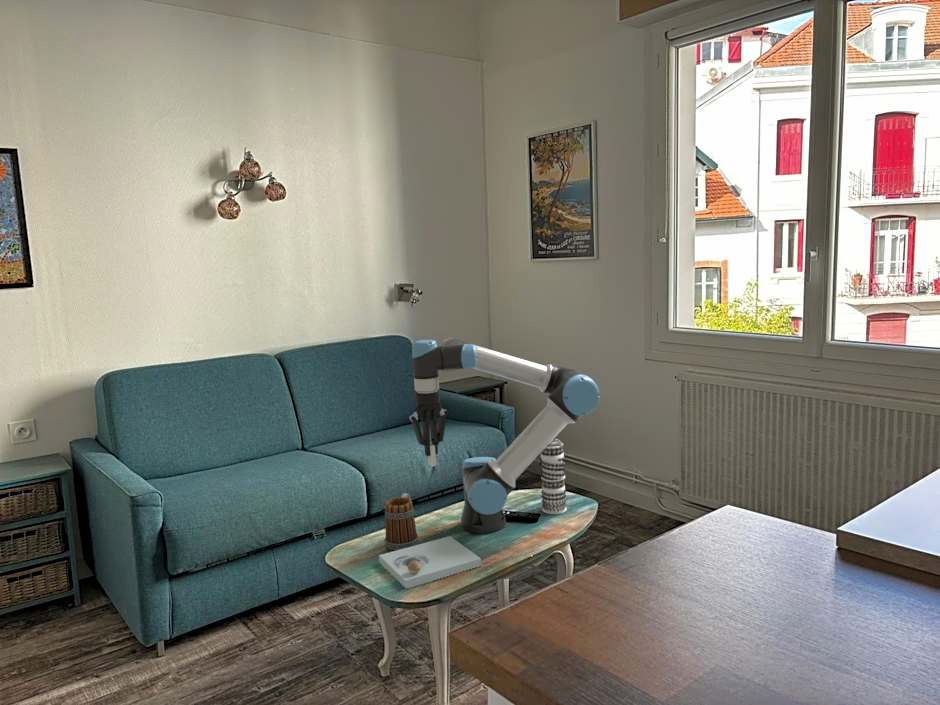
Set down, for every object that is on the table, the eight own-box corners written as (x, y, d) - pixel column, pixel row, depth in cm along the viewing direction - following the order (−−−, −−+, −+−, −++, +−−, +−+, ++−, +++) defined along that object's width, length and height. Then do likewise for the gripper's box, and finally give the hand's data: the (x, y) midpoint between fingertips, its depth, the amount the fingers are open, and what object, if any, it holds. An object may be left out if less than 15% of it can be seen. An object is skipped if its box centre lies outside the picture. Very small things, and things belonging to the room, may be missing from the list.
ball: (413, 569, 214) (418, 557, 215) (418, 573, 211) (423, 561, 212) (403, 565, 213) (408, 554, 213) (407, 569, 210) (413, 558, 210)
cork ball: (417, 568, 207) (416, 557, 207) (422, 573, 204) (422, 561, 203) (406, 572, 205) (405, 560, 205) (411, 577, 202) (410, 564, 202)
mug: (413, 554, 223) (410, 507, 221) (380, 553, 225) (377, 507, 223) (426, 534, 238) (423, 490, 236) (395, 533, 240) (392, 489, 238)
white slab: (450, 543, 229) (449, 536, 229) (481, 566, 212) (480, 558, 212) (379, 563, 218) (378, 555, 218) (406, 588, 201) (405, 580, 200)
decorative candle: (561, 503, 258) (558, 435, 255) (571, 512, 250) (569, 442, 246) (537, 507, 256) (534, 438, 252) (547, 516, 247) (544, 445, 243)
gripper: (440, 385, 227) (445, 458, 231) (402, 392, 221) (408, 466, 225) (451, 389, 221) (456, 464, 224) (412, 395, 214) (418, 472, 218)
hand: (432, 465), depth 224 cm, fingers closed
